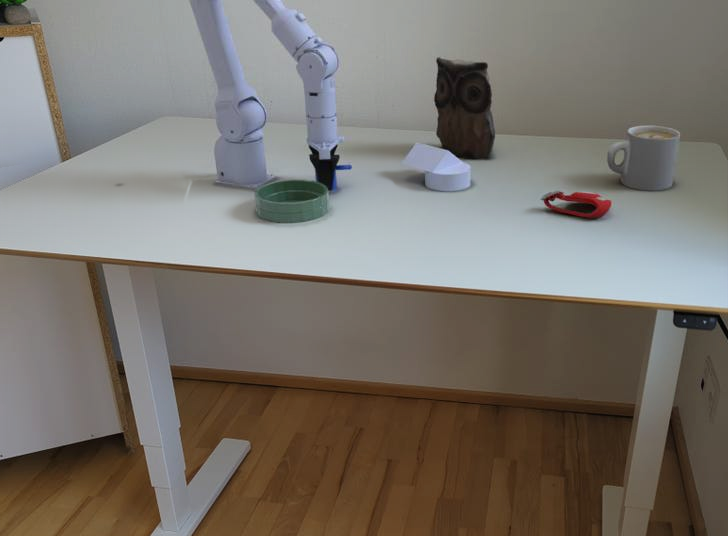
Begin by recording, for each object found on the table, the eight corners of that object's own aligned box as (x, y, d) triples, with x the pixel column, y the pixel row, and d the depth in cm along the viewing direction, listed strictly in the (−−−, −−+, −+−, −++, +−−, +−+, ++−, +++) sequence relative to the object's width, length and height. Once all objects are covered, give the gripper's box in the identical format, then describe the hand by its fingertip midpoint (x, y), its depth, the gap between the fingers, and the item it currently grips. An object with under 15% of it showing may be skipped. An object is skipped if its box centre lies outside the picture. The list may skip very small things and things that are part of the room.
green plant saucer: (242, 219, 143) (240, 198, 141) (280, 196, 153) (278, 176, 151) (307, 229, 138) (305, 207, 136) (341, 205, 149) (340, 184, 147)
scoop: (316, 194, 154) (315, 168, 151) (316, 187, 157) (314, 162, 155) (353, 192, 155) (352, 166, 152) (352, 185, 158) (351, 160, 156)
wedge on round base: (401, 180, 161) (449, 194, 153) (401, 147, 158) (450, 160, 150) (431, 169, 167) (479, 183, 159) (431, 137, 163) (480, 150, 156)
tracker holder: (590, 192, 150) (625, 195, 142) (587, 216, 151) (621, 220, 143) (537, 186, 145) (570, 189, 136) (534, 211, 146) (566, 215, 137)
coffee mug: (667, 175, 163) (675, 126, 157) (676, 191, 154) (684, 139, 149) (601, 173, 164) (607, 124, 159) (605, 189, 155) (612, 138, 150)
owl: (495, 160, 172) (499, 63, 162) (437, 162, 171) (438, 64, 161) (487, 144, 183) (490, 52, 172) (432, 145, 182) (432, 53, 172)
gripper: (345, 123, 143) (348, 196, 150) (340, 104, 155) (344, 172, 162) (305, 125, 142) (311, 198, 149) (304, 105, 154) (309, 174, 161)
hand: (326, 185), depth 155 cm, fingers open, 6 cm apart
